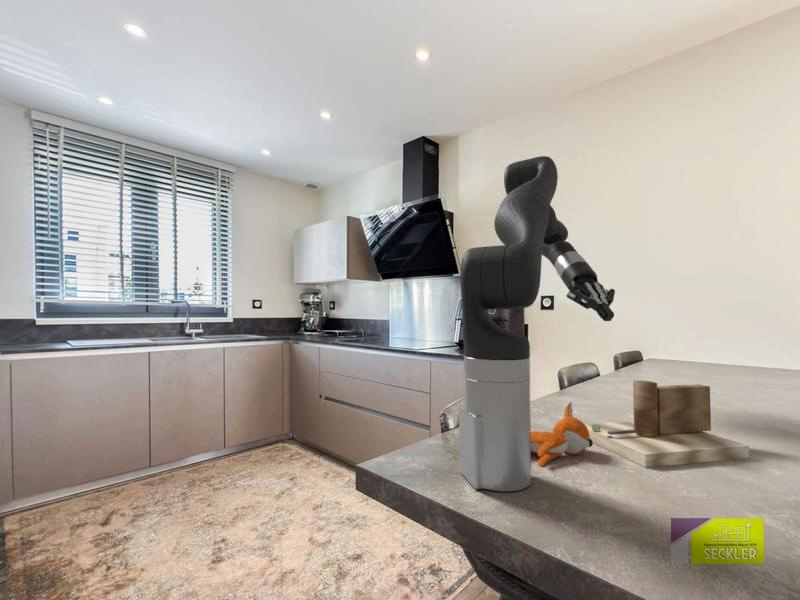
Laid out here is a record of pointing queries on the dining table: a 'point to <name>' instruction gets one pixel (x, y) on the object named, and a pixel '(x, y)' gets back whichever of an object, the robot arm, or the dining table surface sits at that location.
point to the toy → (561, 438)
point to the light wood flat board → (665, 446)
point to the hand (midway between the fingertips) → (609, 318)
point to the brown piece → (669, 409)
